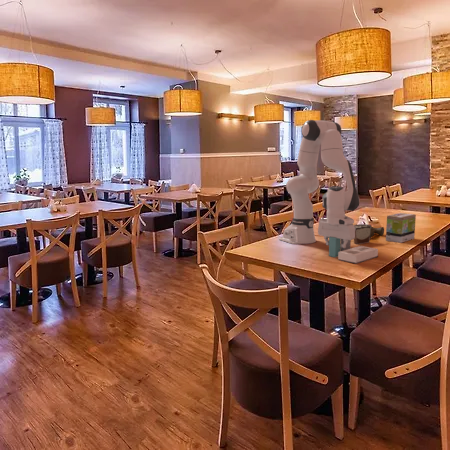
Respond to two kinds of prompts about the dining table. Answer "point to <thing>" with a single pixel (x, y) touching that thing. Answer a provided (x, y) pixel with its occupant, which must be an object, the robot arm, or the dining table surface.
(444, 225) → the dining table surface
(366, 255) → the socket block
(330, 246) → the square peg
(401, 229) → the tea box
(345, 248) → the flat tab
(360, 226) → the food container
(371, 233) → the kendama
